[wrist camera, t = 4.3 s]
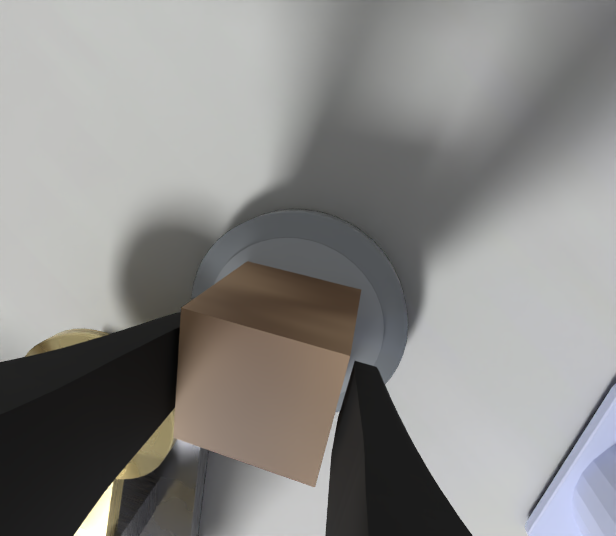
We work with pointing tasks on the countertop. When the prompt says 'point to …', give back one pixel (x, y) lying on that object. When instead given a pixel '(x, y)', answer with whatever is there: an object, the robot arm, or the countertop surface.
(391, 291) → the dish
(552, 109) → the countertop surface
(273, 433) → the block
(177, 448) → the balance
